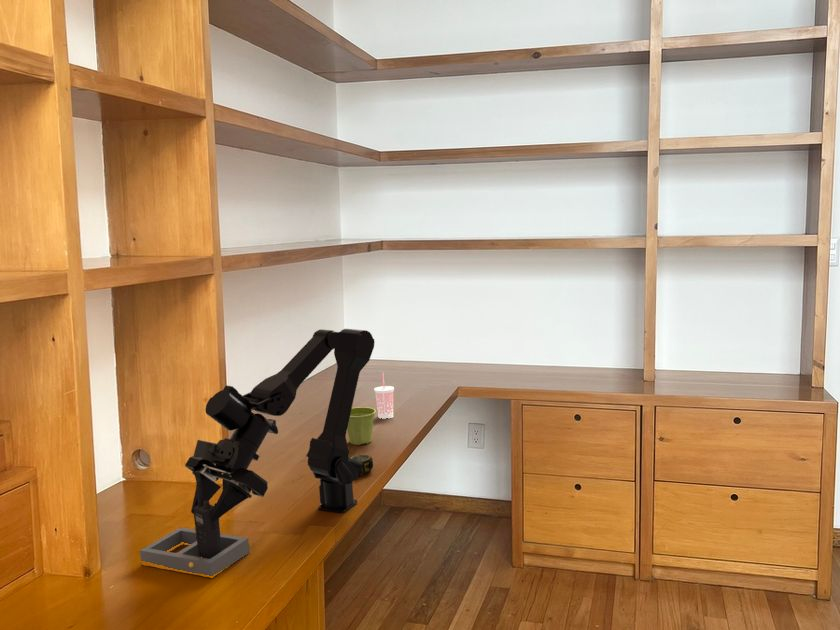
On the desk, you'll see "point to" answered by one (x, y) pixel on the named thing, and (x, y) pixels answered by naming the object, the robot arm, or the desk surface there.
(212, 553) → the two-way radio
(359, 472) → the tape measure
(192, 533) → the charging station
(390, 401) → the beverage cup
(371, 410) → the plant pot
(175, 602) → the desk surface
